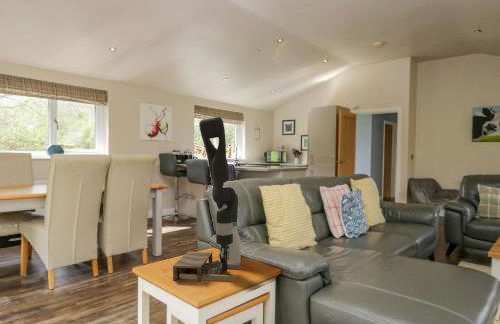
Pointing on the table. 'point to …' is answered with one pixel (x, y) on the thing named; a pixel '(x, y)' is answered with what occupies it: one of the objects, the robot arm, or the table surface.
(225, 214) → the robot arm
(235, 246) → the milk bottle
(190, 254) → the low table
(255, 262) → the table surface
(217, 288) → the table surface
